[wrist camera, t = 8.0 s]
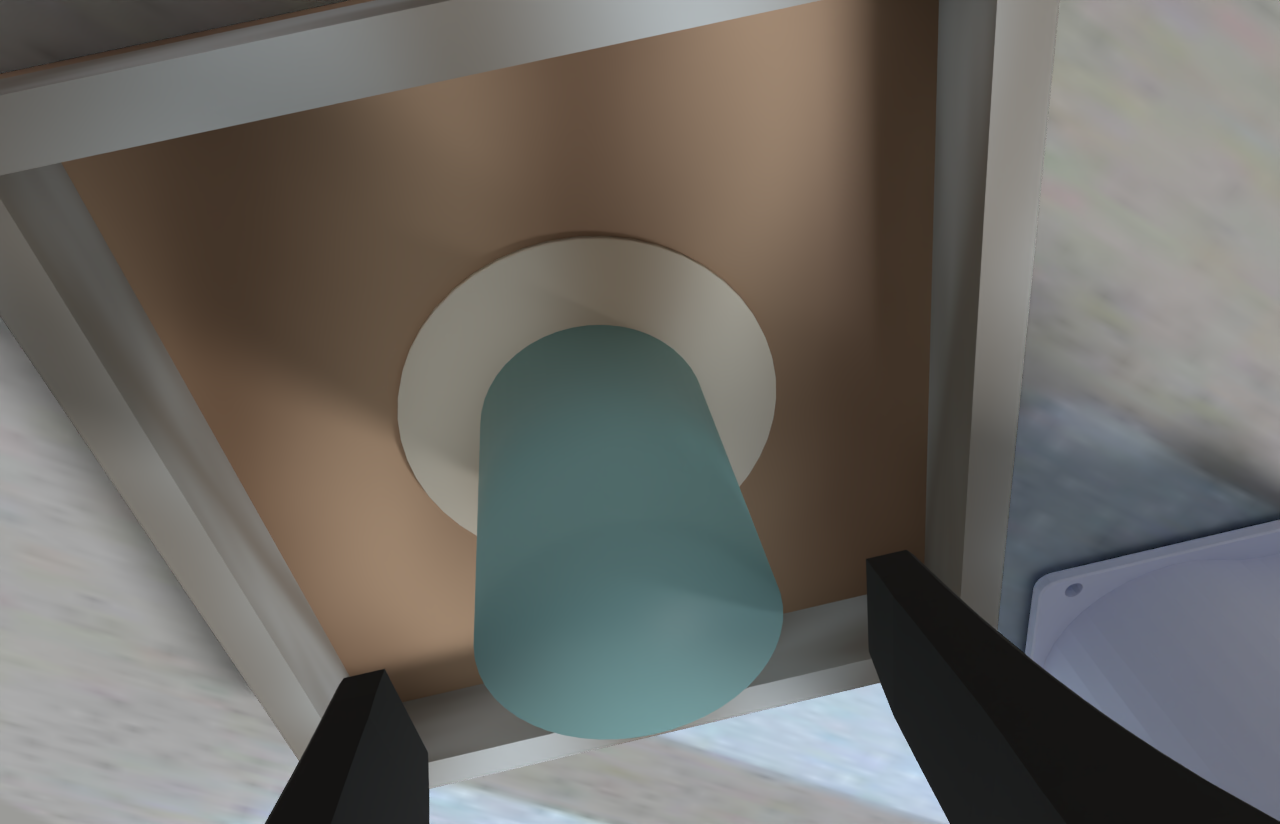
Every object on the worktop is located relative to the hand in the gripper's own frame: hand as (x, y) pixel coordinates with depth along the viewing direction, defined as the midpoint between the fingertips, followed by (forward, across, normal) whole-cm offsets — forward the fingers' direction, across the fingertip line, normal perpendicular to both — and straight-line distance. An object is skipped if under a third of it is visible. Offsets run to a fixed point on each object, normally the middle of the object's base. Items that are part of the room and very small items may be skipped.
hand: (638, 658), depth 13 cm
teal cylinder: (+6, 0, 0) cm, 7 cm away
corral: (+8, 0, 0) cm, 8 cm away
